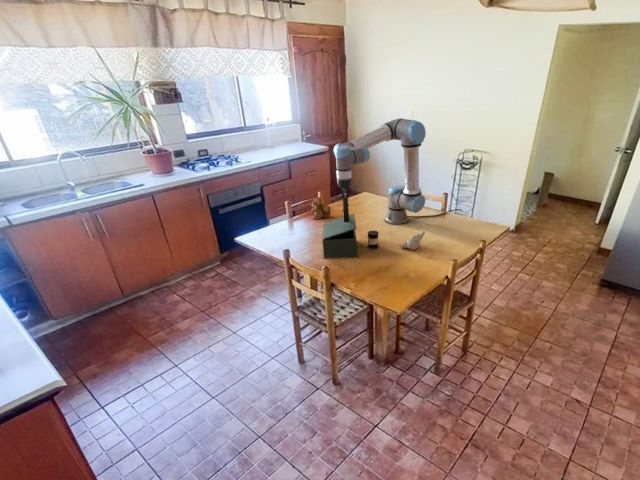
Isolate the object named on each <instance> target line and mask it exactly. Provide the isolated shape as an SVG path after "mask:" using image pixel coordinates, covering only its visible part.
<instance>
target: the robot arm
mask: <svg viewBox="0 0 640 480" xmlns="http://www.w3.org/2000/svg"><path fill="white" fill-rule="evenodd" d="M426 132H427V131H426V127H425V125H424V124H423V122H421V121H418V120H415V119H407V118H400V117H399V118H395V119H392V120H389V121H387V122H385V123H383V124H381V125H380V127H377V128H376V129H374V130H372V131H370V132H368V133H365V134H363V135H360V136H359V137H356V138H354V139H351V140H349V141H347V142H344V143H342V142H340V143H339V142H338V143H336V144H335V145H334V147H333V154H334V156H335V164H336V171H335V174H336V182H337V183H336V184H337V186H338V187H339V188H340V191H341V199H342V212H343V217H344V222H349V215H350V210H349V206H350V203H349V193H350V189H349V188H350V187H351V186H352V183H353V182H352V166H353V165H354V166H355V165H358V164H364V163H367V162H368V161H369V160H370V157H371V153H370V150H369V149H370V148H372V147H374V146H377V145H378V144H381V143H383V142H390V141H394V140H395V141H396V140H397V141H400V146H401V148H402V149H403V163H404V165H403V166H404V185H394V186H390V187H389V189H388V196H387V198H388V202H387V203H388V205H387V206H388V207H387V212H386V215H385V219H384V220H385V222H386V223H388V224H390V225H404V224H406V223H407V222H408V220H409V218H415V219H416V218H418V219H419V218H430V217H438V216H442V215H444V214H447V213H450V212H456V211H460V212H464V211H463V210H462V209H461V208H455V209H451V210H447V211H444V212H441V213H438V214H435V215H433V214H432V215H419V216H418V215H417V216H414V215H413V216H412V215H408V213H407V211H408V212H411V213H415V214H416V213H420V212H421V211H422V210H423V208H424V207H425V205H426V197H425V196H424V195H423V194H422V188H421V187H420V169H419V168H420V158H419V157H420V153H419V152H420V147H421V146H422V143H423V142H424V141H425V139H426V134H427V133H426ZM446 212H447V213H446Z"/></svg>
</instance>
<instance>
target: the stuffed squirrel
mask: <svg viewBox="0 0 640 480" xmlns="http://www.w3.org/2000/svg"><path fill="white" fill-rule="evenodd" d="M331 211H332V210H331V207H330V206H329V204H328V203H323V204H322V199H321V197H318V198H315V199H313V200H312V206H311V210H310V212H311V213H312V214H313V213H314V216H313V217H312V219H313V220H321V219H327V218H329V217H330V216H331V215H332V213H331Z"/></svg>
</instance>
